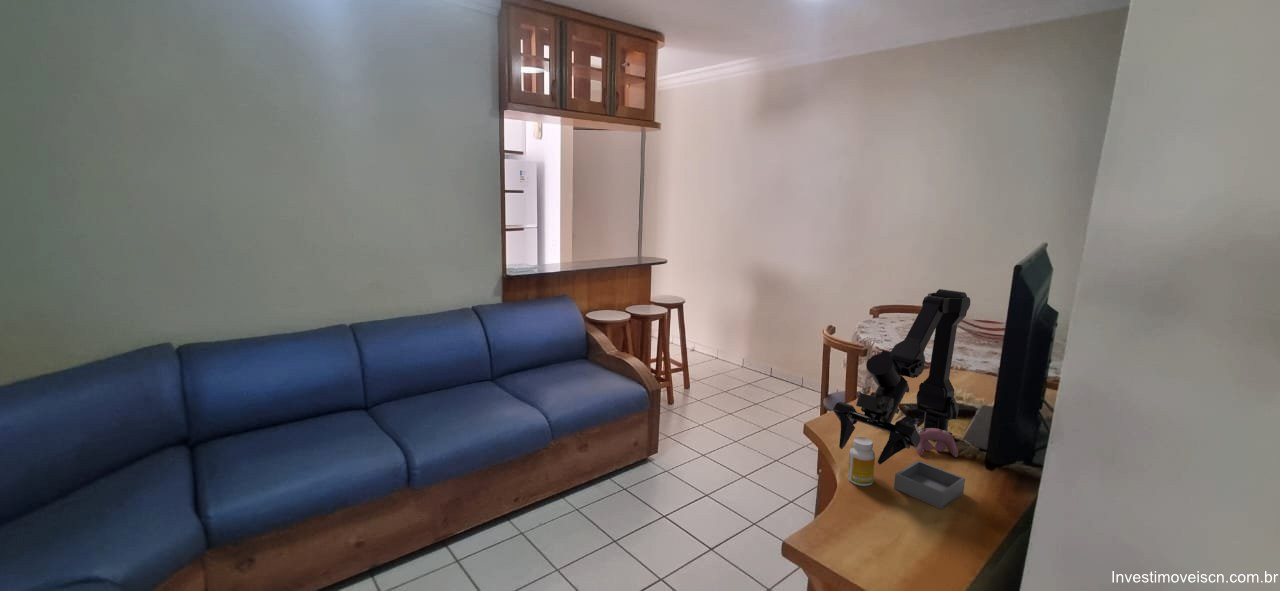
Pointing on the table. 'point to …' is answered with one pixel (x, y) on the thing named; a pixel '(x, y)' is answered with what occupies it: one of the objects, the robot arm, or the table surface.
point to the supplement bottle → (861, 462)
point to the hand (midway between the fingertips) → (859, 455)
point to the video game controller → (942, 441)
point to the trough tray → (929, 484)
